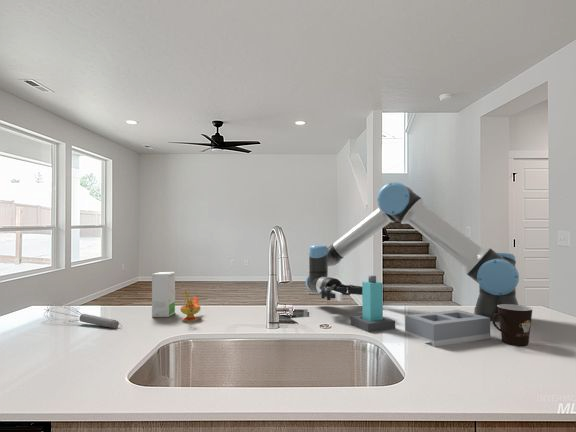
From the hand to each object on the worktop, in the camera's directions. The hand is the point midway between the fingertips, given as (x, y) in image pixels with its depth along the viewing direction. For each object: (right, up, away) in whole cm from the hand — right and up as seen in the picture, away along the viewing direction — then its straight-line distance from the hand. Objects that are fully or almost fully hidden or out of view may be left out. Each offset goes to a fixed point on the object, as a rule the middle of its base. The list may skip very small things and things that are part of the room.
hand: (359, 296), depth 131 cm
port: (+23, -9, -15) cm, 29 cm away
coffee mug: (+39, -9, -21) cm, 45 cm away
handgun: (-23, -10, +11) cm, 28 cm away
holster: (+3, -9, -7) cm, 12 cm away
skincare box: (-70, -10, +13) cm, 72 cm away
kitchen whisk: (-93, -10, +1) cm, 93 cm away
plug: (+3, -8, -7) cm, 11 cm away
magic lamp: (-58, -10, +8) cm, 60 cm away
